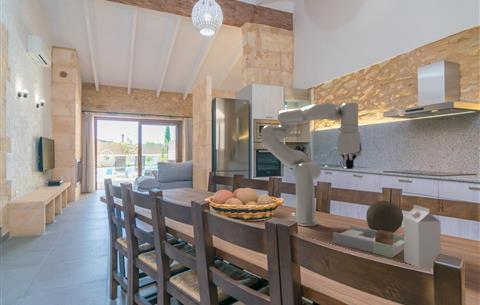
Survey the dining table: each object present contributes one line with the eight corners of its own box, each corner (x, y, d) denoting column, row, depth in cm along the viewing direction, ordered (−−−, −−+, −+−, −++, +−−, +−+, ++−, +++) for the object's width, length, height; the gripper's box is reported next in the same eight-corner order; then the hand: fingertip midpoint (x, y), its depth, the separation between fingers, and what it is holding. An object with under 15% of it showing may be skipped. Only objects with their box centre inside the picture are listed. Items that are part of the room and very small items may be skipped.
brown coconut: (386, 241, 110) (386, 205, 110) (359, 232, 123) (359, 199, 123) (410, 237, 115) (409, 202, 116) (381, 228, 129) (381, 197, 129)
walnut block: (375, 244, 100) (375, 232, 100) (380, 241, 103) (380, 229, 103) (388, 247, 96) (388, 234, 96) (393, 244, 99) (392, 232, 99)
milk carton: (424, 261, 90) (424, 204, 90) (441, 270, 83) (440, 208, 83) (403, 261, 90) (403, 204, 90) (418, 271, 83) (418, 209, 83)
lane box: (332, 242, 110) (332, 232, 110) (351, 234, 120) (351, 225, 120) (391, 257, 93) (391, 246, 93) (406, 247, 104) (406, 236, 104)
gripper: (330, 130, 129) (330, 168, 129) (361, 127, 118) (362, 169, 118) (338, 131, 134) (338, 167, 134) (369, 128, 123) (369, 169, 123)
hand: (349, 168), depth 126 cm, fingers closed
